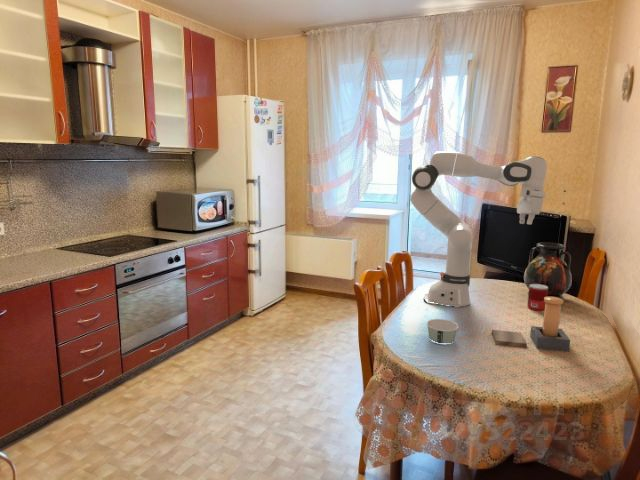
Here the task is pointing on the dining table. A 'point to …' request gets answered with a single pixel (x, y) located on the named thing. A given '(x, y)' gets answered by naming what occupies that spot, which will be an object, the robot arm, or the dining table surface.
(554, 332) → the tan peg
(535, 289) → the canned food
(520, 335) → the walnut board
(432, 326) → the food container
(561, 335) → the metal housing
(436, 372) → the dining table surface
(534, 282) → the amphora vase
